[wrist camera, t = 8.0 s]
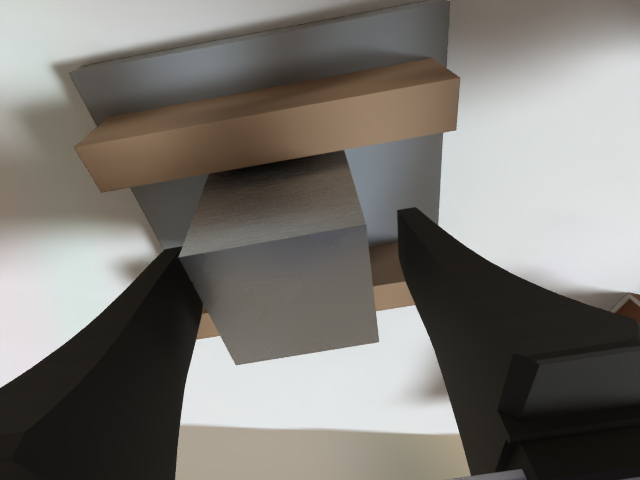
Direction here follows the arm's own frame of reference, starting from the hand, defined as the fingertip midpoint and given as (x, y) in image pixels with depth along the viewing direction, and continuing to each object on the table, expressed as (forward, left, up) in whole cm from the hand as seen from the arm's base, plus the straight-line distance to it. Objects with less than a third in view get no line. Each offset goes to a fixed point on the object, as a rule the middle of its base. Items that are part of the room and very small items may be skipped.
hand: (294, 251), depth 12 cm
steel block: (0, 0, -3) cm, 3 cm away
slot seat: (0, 0, -4) cm, 4 cm away
